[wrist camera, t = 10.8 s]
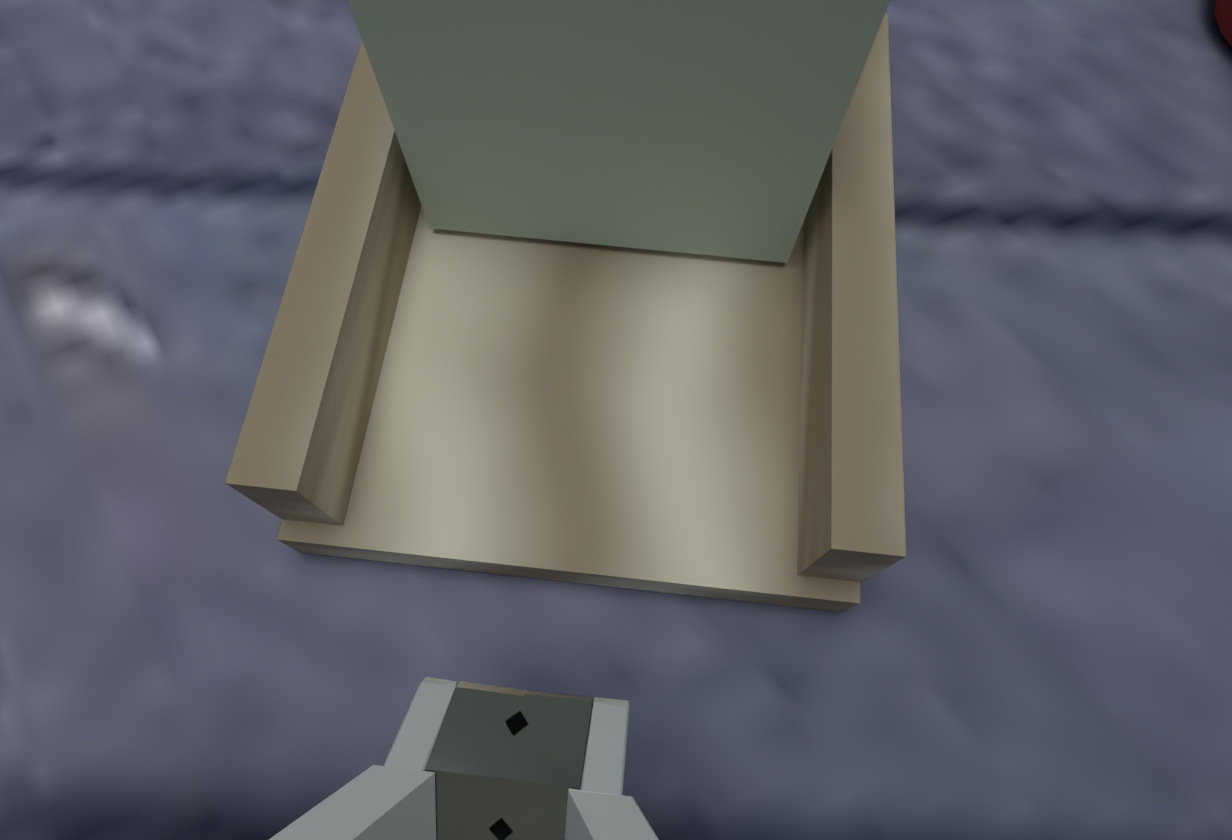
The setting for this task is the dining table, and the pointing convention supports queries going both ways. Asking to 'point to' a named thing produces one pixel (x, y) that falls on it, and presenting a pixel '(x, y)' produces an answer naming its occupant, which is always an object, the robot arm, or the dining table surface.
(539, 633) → the dining table surface
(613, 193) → the slider
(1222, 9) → the smoothie
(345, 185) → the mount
